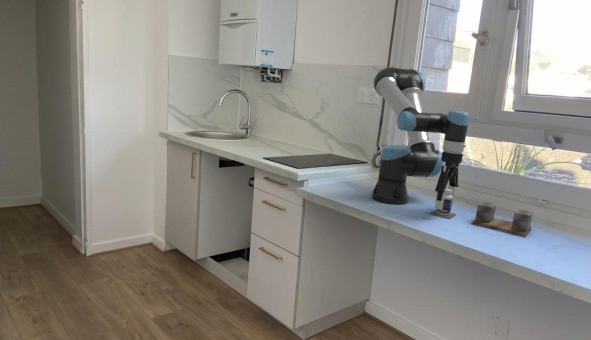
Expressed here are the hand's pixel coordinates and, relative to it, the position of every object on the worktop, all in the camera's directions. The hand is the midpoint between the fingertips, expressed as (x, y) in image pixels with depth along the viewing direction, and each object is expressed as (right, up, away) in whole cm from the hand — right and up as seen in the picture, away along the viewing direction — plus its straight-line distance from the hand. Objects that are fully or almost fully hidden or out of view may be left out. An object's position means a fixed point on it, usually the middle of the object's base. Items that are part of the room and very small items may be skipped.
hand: (444, 205), depth 171 cm
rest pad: (0, -4, +1) cm, 4 cm away
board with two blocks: (+18, -7, -9) cm, 22 cm away
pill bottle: (0, -3, +1) cm, 3 cm away
